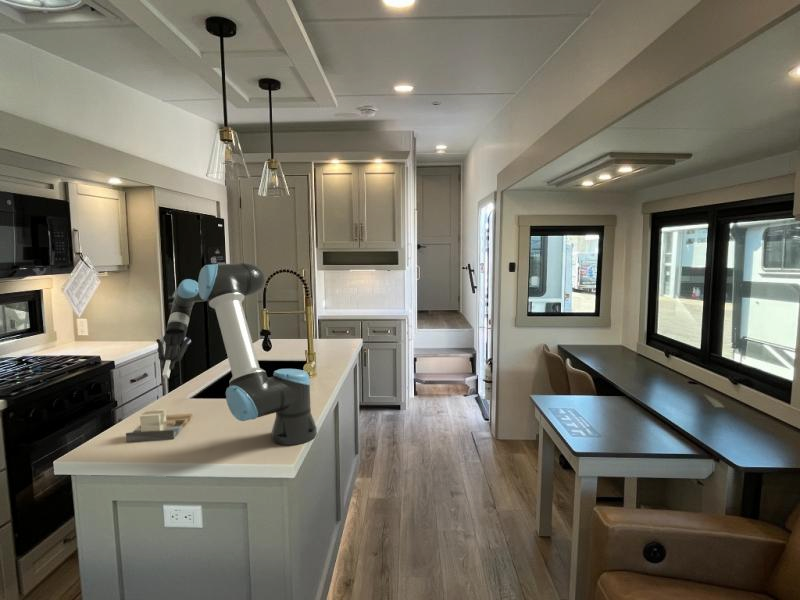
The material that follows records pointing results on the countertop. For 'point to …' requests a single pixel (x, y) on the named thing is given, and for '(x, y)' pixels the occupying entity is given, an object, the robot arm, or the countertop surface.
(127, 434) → the trap board
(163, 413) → the ash block
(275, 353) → the countertop surface
